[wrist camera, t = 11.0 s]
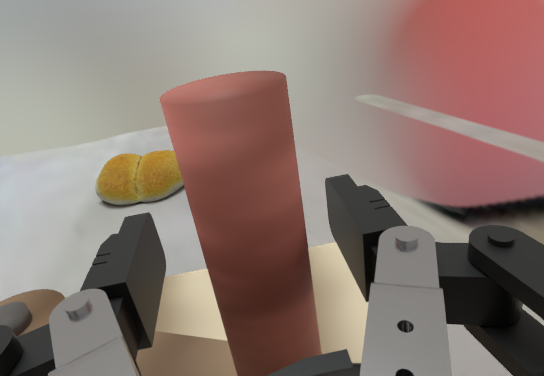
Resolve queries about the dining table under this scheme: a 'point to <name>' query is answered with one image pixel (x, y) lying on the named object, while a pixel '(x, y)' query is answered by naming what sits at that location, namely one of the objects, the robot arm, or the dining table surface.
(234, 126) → the lever
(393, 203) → the dining table surface
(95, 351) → the robot arm
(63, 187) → the dining table surface
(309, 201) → the dining table surface
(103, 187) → the bread roll
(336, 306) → the board
